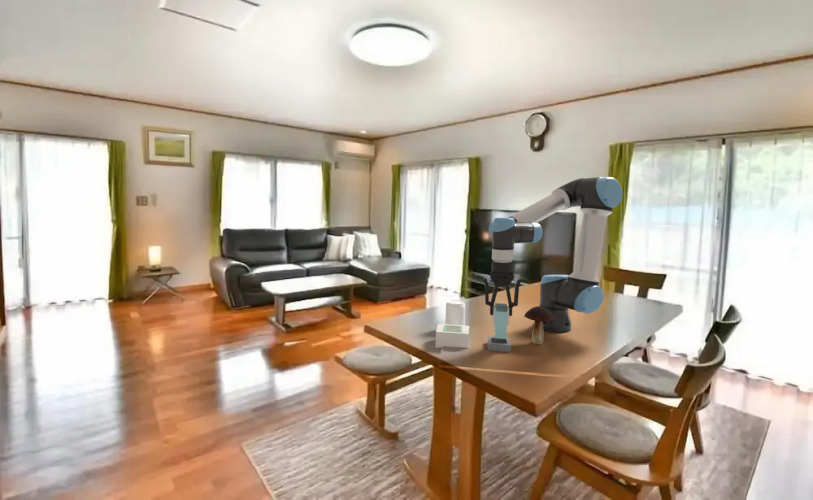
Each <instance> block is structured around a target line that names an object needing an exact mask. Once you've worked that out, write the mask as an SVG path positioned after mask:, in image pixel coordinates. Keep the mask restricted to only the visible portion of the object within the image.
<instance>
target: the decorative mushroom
mask: <svg viewBox="0 0 813 500" xmlns="http://www.w3.org/2000/svg"><path fill="white" fill-rule="evenodd" d="M523 317H524V318H526V319H528V320H531V321H534V322H533V327H532V333H531V334H532V335H531V342H532V344H534V345H542V344H543V343H544V339H545V338H544V335H545V334H544V333H545V332H544V331H545V330H544V329H543V321H553V320H554V317H553V315H552V313H551V312H550V311H548V310H547V309H545V308H543V307H541V306H540V305H537V306H533V307H531V308H530V309H528V310H527V311H526V312H525V313H524V315H523Z"/></svg>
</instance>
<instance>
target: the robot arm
mask: <svg viewBox="0 0 813 500" xmlns="http://www.w3.org/2000/svg"><path fill="white" fill-rule="evenodd" d="M622 199H623V189H622V186H621V184H620V181H618V180H617V179H616V178H614V177H611V176H598V177H586V178H585V177H582V178H576V179H574V180H571V181H569V182H567V183H565V184H563V185H561V186H559V187H556V189H554V190H552V192H551V194H549V195H547V196H545V197H543V198H541V199H540V200H538V201H536V202H535V203H532V204H530V205H529V206H527V207H525V208H523V209H520V210H519V211H518V212H516V213H514V214H512V215H510V216H507V217H495V218H494V219H493V221H492V222H491V223H490V225H489V226H488V233H489V236H490V237H491V239H492V240H491V243H492V245H491V247H492V248H491V249H492V250H491V260H492V261H491V273H490V275H489V276H484V277H483V282H484V299H485V300H484V301H485V302H484V303H485V305H486V306H489V315H490V316H492V325H494V326H495V317H496V306H495V303H496V297H497V294H498V290H499V288H500V287H504V288H505V292H506V298H507V303H508V305H507V327H509V325H510V317H512V316H513V308H514V307H518V306H519V293H520V285H521V282H522V279H521V278H519V277H516V276H515V275H514V262H513V261H514V255H515V254H514V252H515V244H516V245H517V244H532V243H538V242H539V241H540V240H542V238H543V233H544V231H543V228H542V226H541V224H539V222H541V221H543V220H545V219H546V218H548V217H550V216H552V215H554V214H556V213H558V212H559V211H566V210H568V209H570V208H574V207H575V208H577V207H580V211H581V212H582V213H583V215H582V220H581V227H580V232H579V237H578V243H577V249H576V253H575V260H574V265H573V272H572V273H570V274H569V275H568V274H544V275H543V276H542V277H541V281H540V284H539V285H540V291H539V293H540V294H539V306H541V307H543V308H545V309H547V310H548V311H550V312H551V313H552V315H553V317H554V320H553V321H543V329H544V331H548V332H554V333H555V332H556V333H566V332H569V331H571V330H572V321H571V317H570V314H569V310H572V311H575V312H577V313H581V314H582V313H584V314H593V313H594V312H596V311H597V310H598V309H599V308H600V307H601V305H602V303H603V302H604V298H605V297H604V296H605V294H604V290H603V289H602V287H600V286H599V285H600V280H599V278H598V277H597V273H598V269H599V263H600V258H601V257H600V256H601V252H602V251H601V250H602V247H603V241H604V235H605V230H606V224H607V218H608V216H610V215H611V214H613V210H614V208H616V207H618V206H619V205H620V203H621V201H622ZM491 281H492V282H493V284H494V286H493V290H492V296H491V298H490V296H489V295H490V294H489V293H490V292H489V287H490V286H489V283H491ZM512 282H514V293H513V295H514V296H513V301H512V297H511V296H512V295H511V290H510V284H511V283H512Z"/></svg>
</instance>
